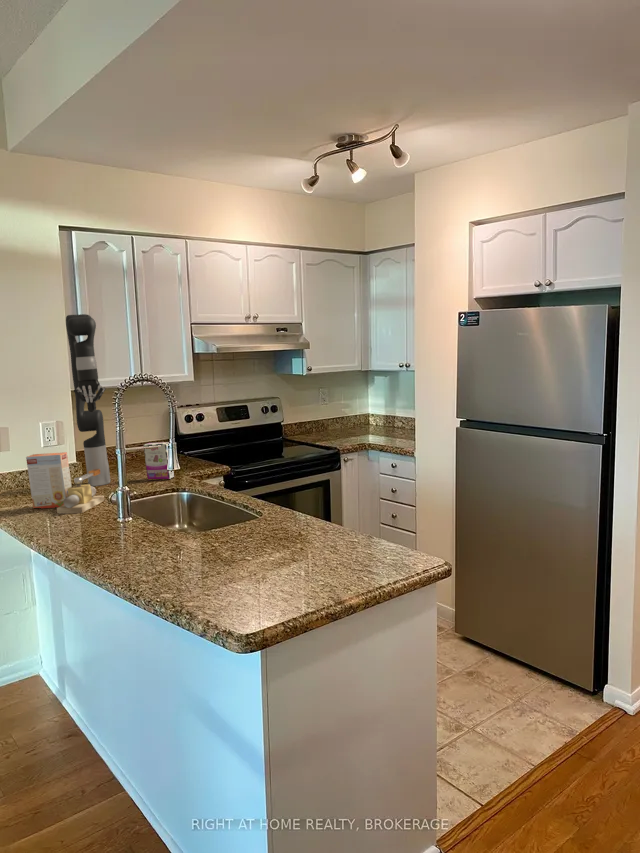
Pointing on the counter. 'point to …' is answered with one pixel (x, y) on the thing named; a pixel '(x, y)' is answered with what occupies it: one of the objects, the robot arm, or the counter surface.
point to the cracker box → (48, 479)
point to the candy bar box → (157, 461)
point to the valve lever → (87, 476)
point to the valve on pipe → (80, 499)
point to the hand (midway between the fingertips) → (92, 411)
